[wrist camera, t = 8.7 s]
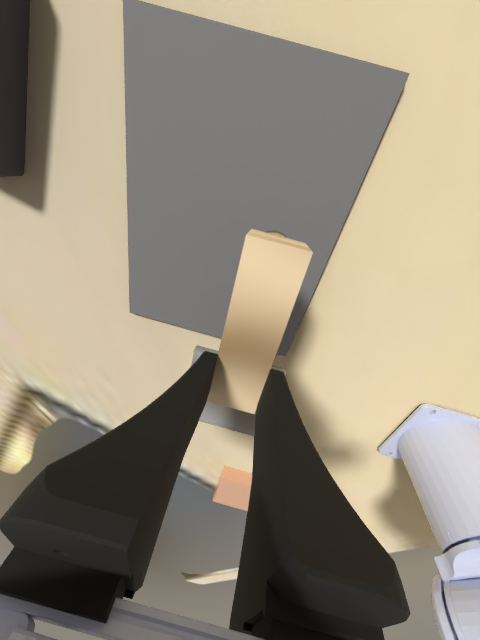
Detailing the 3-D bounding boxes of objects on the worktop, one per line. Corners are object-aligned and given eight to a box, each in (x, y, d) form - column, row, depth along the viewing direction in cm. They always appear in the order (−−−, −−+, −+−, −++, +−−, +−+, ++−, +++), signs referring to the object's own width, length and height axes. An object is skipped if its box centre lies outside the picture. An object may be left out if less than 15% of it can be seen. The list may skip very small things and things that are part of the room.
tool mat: (405, 76, 12) (409, 73, 11) (285, 352, 21) (285, 356, 21) (128, 2, 12) (123, -4, 12) (132, 309, 22) (129, 312, 21)
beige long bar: (220, 216, 12) (195, 221, 8) (335, 246, 12) (363, 265, 8) (185, 410, 19) (161, 465, 15) (261, 430, 19) (257, 492, 15)
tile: (274, 493, 31) (259, 514, 35) (274, 476, 33) (260, 498, 37) (221, 478, 31) (212, 501, 35) (224, 462, 33) (215, 485, 37)
